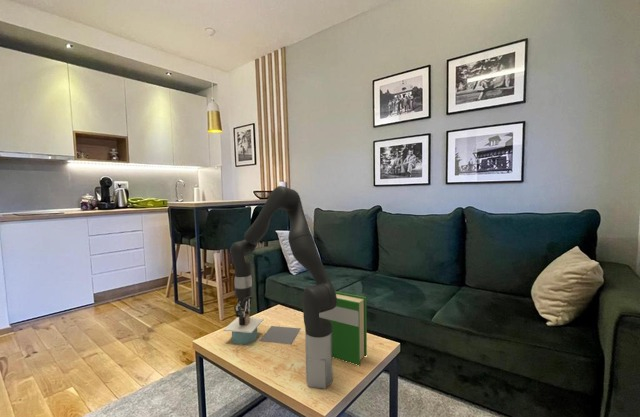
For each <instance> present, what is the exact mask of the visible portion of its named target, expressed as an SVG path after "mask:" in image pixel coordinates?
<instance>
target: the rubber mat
mask: <svg viewBox="0 0 640 417" xmlns="http://www.w3.org/2000/svg"><path fill="white" fill-rule="evenodd" d="M301 330H302V328H301V327H300V328H299V327H290V326H279V325H278V326H276V325H271V326H270V327H269V328H268V329H267V331H266V332H265V333H264V335H262V337H261V338H260V339H259V342H262V343H275V344H284V345H292V344H293V343H294V341H295V340H296V338H297V336H298V335H299V332H301Z"/></svg>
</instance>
